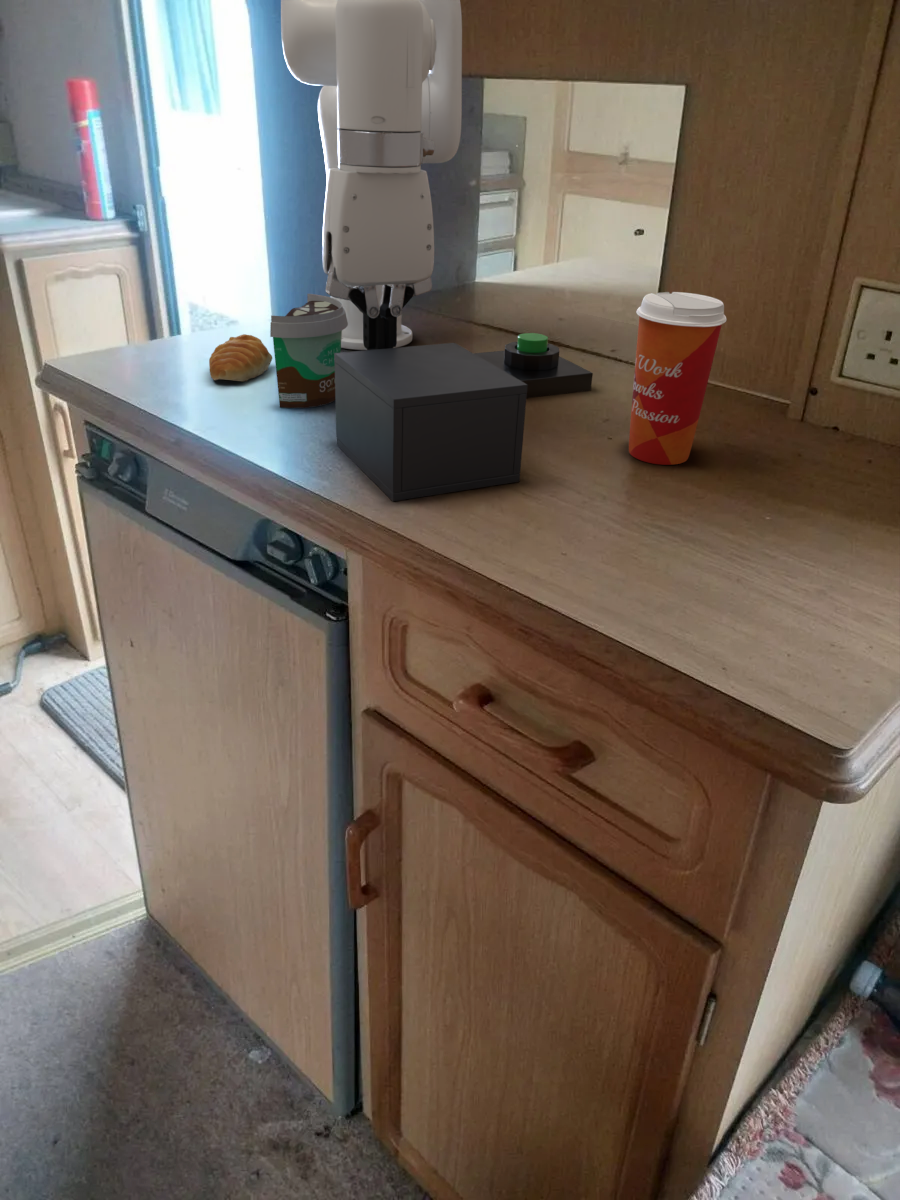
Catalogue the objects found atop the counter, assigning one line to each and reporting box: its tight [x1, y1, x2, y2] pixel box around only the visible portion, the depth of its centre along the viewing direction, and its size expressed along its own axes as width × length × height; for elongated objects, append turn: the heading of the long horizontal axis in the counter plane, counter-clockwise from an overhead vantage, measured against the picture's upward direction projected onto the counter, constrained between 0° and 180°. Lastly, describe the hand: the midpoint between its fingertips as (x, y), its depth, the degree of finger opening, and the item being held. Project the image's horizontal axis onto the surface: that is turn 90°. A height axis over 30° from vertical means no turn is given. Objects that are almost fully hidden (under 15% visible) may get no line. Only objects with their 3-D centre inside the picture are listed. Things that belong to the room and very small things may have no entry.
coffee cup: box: [628, 291, 728, 466], centre depth 87 cm, size 8×8×15 cm
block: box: [472, 341, 594, 399], centre depth 110 cm, size 12×10×4 cm
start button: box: [516, 332, 549, 353], centre depth 109 cm, size 4×4×2 cm
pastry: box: [208, 333, 273, 383], centre depth 108 cm, size 9×7×4 cm
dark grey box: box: [334, 342, 528, 502], centre depth 85 cm, size 15×13×9 cm
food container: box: [269, 293, 348, 409], centre depth 100 cm, size 12×6×10 cm, turn 168°
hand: (379, 354), depth 92 cm, fingers closed
